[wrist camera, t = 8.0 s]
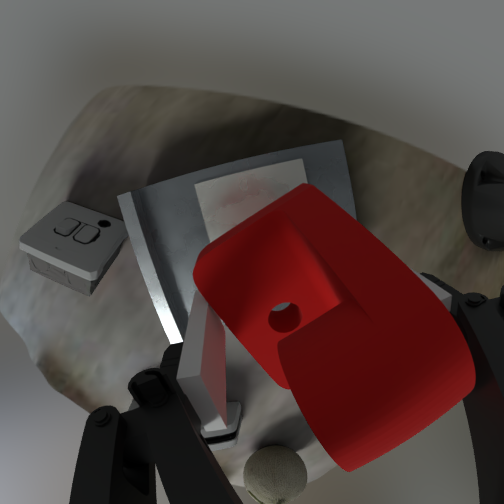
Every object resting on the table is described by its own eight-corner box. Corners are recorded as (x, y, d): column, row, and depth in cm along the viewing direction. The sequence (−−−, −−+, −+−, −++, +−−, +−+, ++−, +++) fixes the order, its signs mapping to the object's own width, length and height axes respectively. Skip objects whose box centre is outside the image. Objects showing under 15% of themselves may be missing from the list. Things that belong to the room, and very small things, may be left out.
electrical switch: (134, 223, 29) (97, 256, 20) (125, 264, 31) (92, 307, 22) (66, 199, 27) (16, 222, 19) (60, 239, 29) (16, 271, 21)
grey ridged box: (320, 144, 28) (351, 137, 21) (342, 266, 32) (373, 294, 25) (144, 188, 28) (116, 196, 20) (183, 307, 32) (172, 346, 24)
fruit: (264, 426, 39) (277, 505, 25) (311, 444, 42) (331, 510, 28) (225, 453, 41) (228, 523, 27) (272, 468, 44) (282, 530, 30)
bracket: (189, 254, 14) (127, 418, 4) (299, 182, 13) (453, 223, 4) (280, 370, 16) (321, 521, 7) (370, 315, 16) (472, 436, 6)
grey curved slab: (139, 421, 37) (120, 453, 28) (134, 396, 38) (111, 425, 28) (242, 422, 39) (246, 458, 29) (240, 396, 39) (243, 430, 29)
